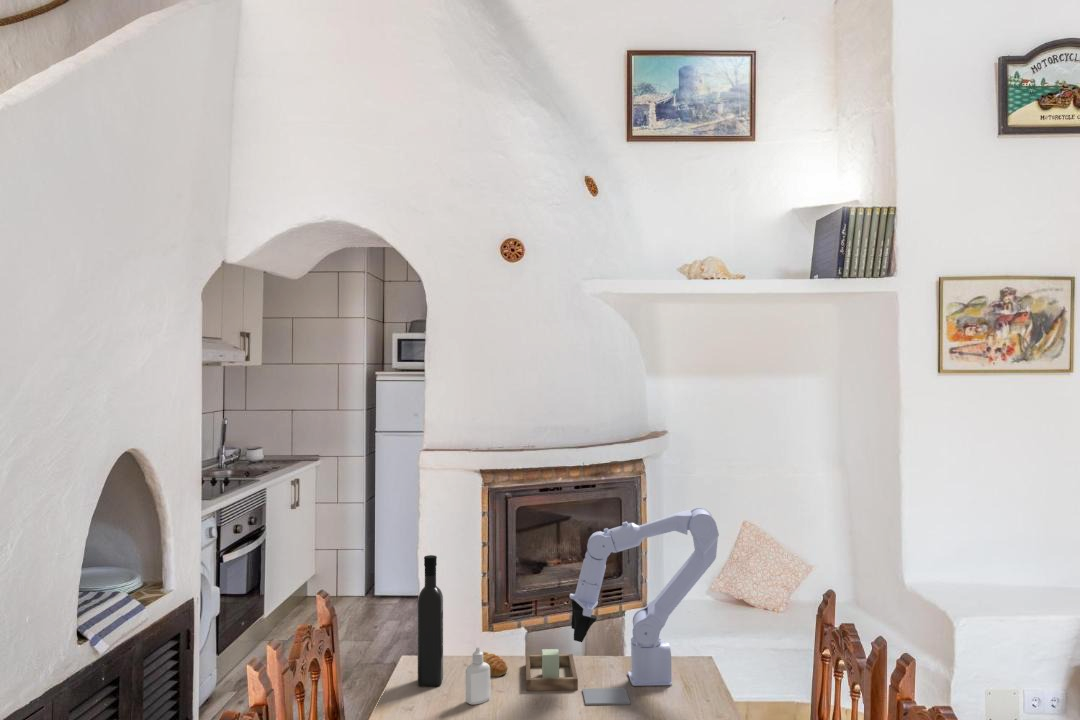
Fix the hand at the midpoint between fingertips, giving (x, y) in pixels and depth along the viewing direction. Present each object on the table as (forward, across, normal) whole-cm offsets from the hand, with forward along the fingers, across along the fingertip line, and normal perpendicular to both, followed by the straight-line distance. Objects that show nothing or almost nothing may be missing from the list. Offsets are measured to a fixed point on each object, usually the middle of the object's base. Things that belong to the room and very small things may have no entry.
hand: (576, 634), depth 179 cm
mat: (+8, +13, +8) cm, 17 cm away
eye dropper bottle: (+15, +13, -20) cm, 29 cm away
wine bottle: (+19, +2, -32) cm, 37 cm away
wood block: (+11, 0, -4) cm, 12 cm away
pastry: (+16, -5, -18) cm, 24 cm away
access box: (+11, 0, -4) cm, 12 cm away
